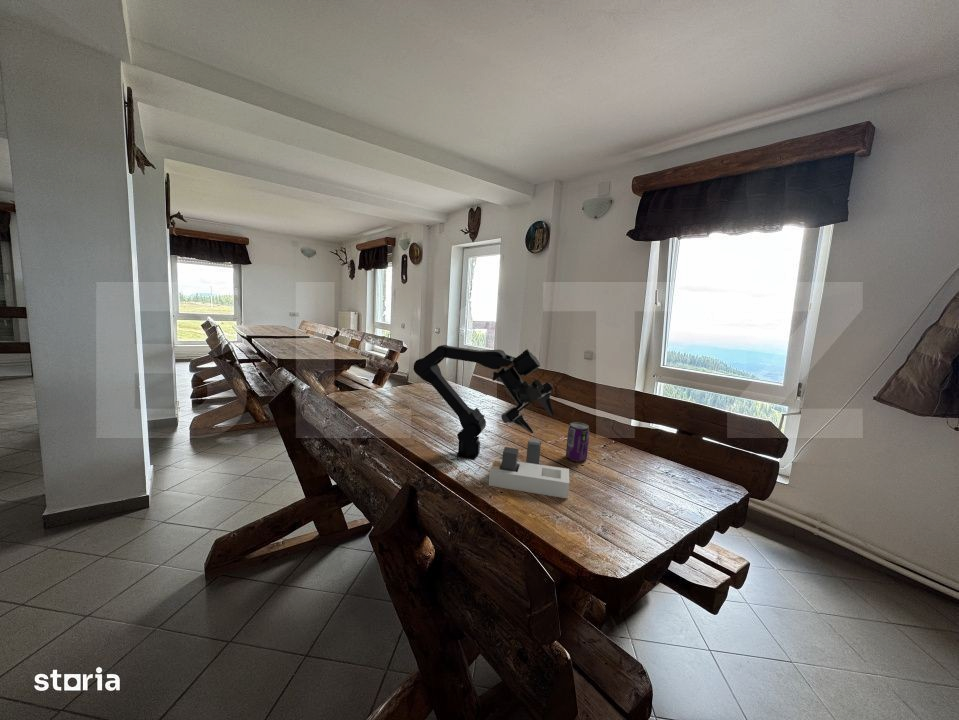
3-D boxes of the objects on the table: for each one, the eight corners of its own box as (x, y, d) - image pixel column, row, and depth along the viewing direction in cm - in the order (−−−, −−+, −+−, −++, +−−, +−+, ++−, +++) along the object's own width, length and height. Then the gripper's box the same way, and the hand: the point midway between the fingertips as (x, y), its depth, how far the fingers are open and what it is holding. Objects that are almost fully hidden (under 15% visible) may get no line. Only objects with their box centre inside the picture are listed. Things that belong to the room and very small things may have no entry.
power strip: (488, 485, 104) (490, 453, 103) (494, 471, 113) (496, 442, 111) (567, 498, 99) (571, 465, 98) (567, 483, 108) (570, 452, 107)
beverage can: (587, 464, 122) (591, 430, 120) (565, 461, 124) (569, 427, 122) (585, 455, 129) (589, 423, 127) (565, 453, 130) (568, 420, 129)
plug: (525, 468, 116) (527, 441, 115) (526, 463, 120) (528, 437, 119) (538, 470, 115) (540, 443, 114) (539, 465, 119) (541, 439, 118)
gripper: (500, 396, 106) (532, 440, 105) (546, 362, 113) (575, 404, 112) (489, 401, 116) (517, 442, 115) (531, 370, 123) (558, 409, 122)
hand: (542, 424), depth 116 cm, fingers open, 9 cm apart
